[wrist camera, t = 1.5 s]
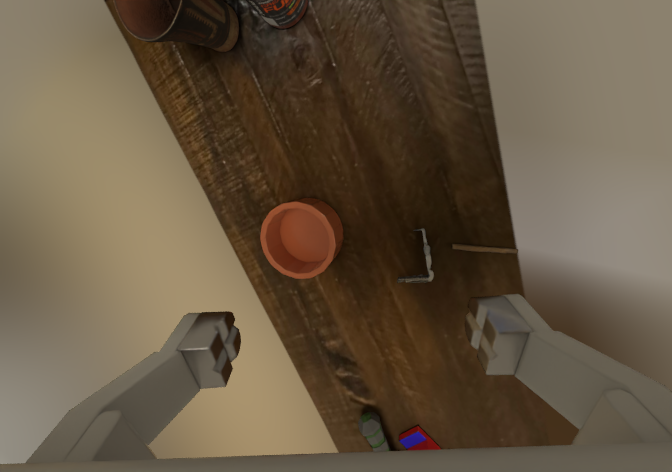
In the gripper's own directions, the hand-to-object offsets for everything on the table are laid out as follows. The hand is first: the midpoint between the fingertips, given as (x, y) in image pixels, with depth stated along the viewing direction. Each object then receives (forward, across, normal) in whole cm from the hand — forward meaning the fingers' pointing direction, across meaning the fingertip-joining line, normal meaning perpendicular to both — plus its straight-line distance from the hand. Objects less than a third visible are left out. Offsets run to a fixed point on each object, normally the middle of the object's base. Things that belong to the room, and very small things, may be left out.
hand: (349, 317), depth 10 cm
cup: (+33, +14, -14) cm, 39 cm away
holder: (+25, +5, +9) cm, 27 cm away
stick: (+20, -15, +9) cm, 27 cm away
